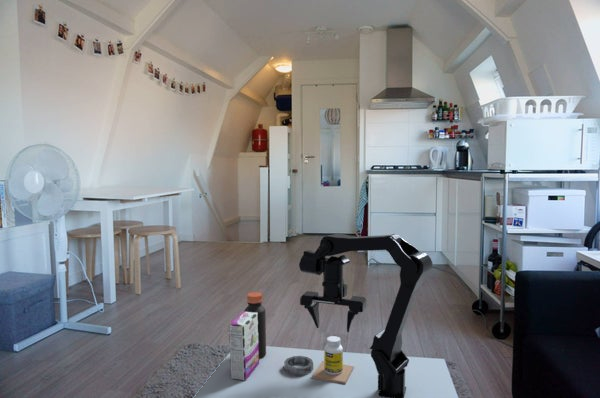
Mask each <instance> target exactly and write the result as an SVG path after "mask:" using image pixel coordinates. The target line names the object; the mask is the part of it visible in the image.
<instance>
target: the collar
mask: <svg viewBox="0 0 600 398" xmlns="http://www.w3.org/2000/svg"><path fill="white" fill-rule="evenodd" d="M283 361H284V363H283V365H284V366H283V367H284V372H285V373H286V374H288V375H289V376H295V377H300V376H306V375H308V374H311V373H312V372H313V370H314V362H313V359H312V358H310V357H309V356H304V355H293V356H290V357H288V358H286V359H285V360H283ZM298 364H301V365H304V366H301V367H300V366H299V367H297V366H292V365H298Z"/></svg>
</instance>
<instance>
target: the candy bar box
mask: <svg viewBox="0 0 600 398" xmlns="http://www.w3.org/2000/svg"><path fill="white" fill-rule="evenodd" d="M228 335H229V336H228V338H229V339H228V340H229V359H230V360H229V362H230V368H229V369H230V379H231V380H235V381H237V380H238V381H244V382H245V381H247V379H248V378H249V377H250V376H251V374H252V373H253V372H254V371H255V370H256V368H257V367H258V365H259V364H260V359H259V340H258V313H256V312H244V311H243V312H242V313H241V314H239V315H238V316H237V317H235V319H233V321H231V322H229V324H228Z"/></svg>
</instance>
